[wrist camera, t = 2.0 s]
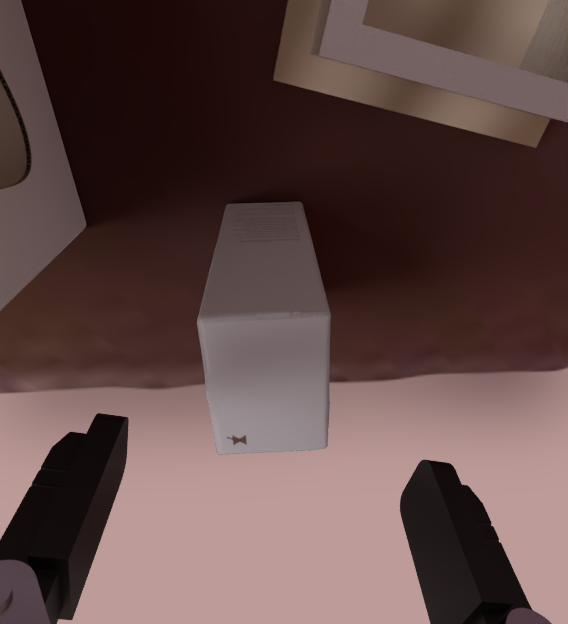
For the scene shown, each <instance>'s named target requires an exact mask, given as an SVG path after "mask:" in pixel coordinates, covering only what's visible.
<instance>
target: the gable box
mask: <svg viewBox="0 0 568 624" xmlns="http://www.w3.org/2000/svg"><path fill="white" fill-rule="evenodd" d="M85 227H86V220H85V217H84V214H83V210H82V207H81V203H80V200H79V196H78V193H77V190H76V186H75V183H74V179H73V176H72V173H71V169H70V166H69V162H68V159H67V156H66V152H65V149H64V145H63V142H62V138H61V135H60V132H59V128H58V125H57V121H56V118H55V115H54V111H53V108H52V104H51V101H50V97H49V94H48V91H47V87H46V84H45V80H44V77H43V74H42V70H41V67H40V63H39V60H38V57H37V53H36V50H35V46H34V43H33V39H32V36H31V33H30V29H29V26H28V22H27V19H26V16H25V12H24V9H23V5H22V2H21V0H0V311H1V310H2V309H3V308H4V307H5V306H6V305H7V304H8V303H9V302H10V301H11V300H12V299H13V298H14V297H15V296H16V295H17V294H18V293H19V292H20V291H21V290H22V289H23V288H24V287H25V286H27V285H28V284H29V283H30V282H31V281H32V280H33V279H34V278H35V277H36V276H37V275H38V274H39V273H40V272H41V271H42V270H43V269H44V268H45V267H46V266H47V265H48V264H49V263H50V262H51V261H52V260H53V259H54V258H55V257H56V256H57V255H58V254H59V253H60V252H62V251H63V250H64V249H65V248H66V247H67V246H68V245H69V244H70V243H71V242H72V241H73V240H74V239H75V238H76V237H77V236H78V235H79V234H80V233H81V232H82V231H83V230H84V229H85Z"/></svg>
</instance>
